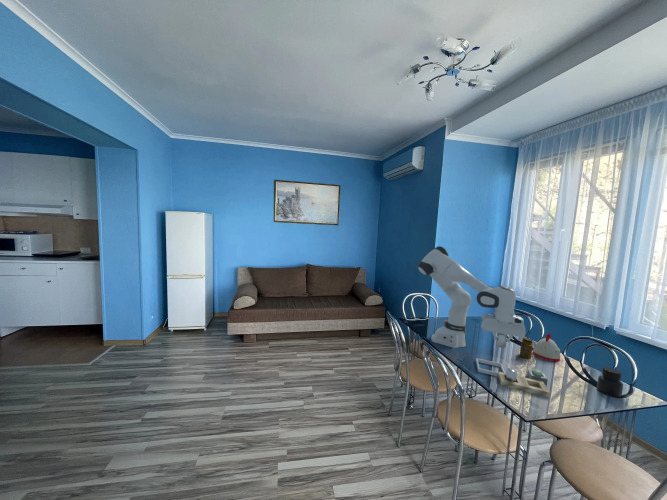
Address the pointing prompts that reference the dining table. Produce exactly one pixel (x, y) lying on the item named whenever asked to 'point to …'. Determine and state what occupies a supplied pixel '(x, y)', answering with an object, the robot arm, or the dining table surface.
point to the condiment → (526, 349)
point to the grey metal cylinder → (501, 340)
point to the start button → (537, 372)
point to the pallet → (524, 385)
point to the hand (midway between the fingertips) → (501, 340)
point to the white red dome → (547, 349)
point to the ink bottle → (610, 382)
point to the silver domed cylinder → (511, 375)
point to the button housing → (537, 377)
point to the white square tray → (489, 364)
